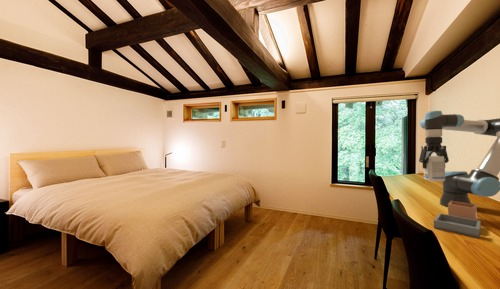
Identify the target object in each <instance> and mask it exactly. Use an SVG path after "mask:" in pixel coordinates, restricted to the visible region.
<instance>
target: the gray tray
mask: <svg viewBox="0 0 500 289" xmlns="http://www.w3.org/2000/svg"><path fill="white" fill-rule="evenodd" d="M481 223H482V222H481V220H478V219H477V220H474V219H468V218H463V217H457V216H452V215H448V214H446V213H440V212H438V213H437V215H436V216H435V218H434V219H433V229H436V230H441V231H445V232H449V233H455V234H458V233H459V235H462V234H464V235H463V236H466V237H472V238H475V239H480V235H481V234H480V233H481V226H482V224H481Z"/></svg>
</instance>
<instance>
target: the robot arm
mask: <svg viewBox="0 0 500 289" xmlns="http://www.w3.org/2000/svg"><path fill="white" fill-rule="evenodd" d="M420 127H421V128H422V129H424V130H425V138H424V139H425V141H424V142H425V144H426V145H421V151H420V156H419V159H418V161H419V163H421V164H422V171H423V175H424V174H429V163H427V162H428V160H429V156H432V154H433V153H434V154H435V156H444V160H445V164H448V162H449V155H448V152H447V146H446V145H442V143H443V137H442V136H443V130H446V131H455V132H457V131H458V132H465V133H466V132H468V133H473V134H475V135H483V136H491V137H496V139H495V141H494V142H493V144H492V145H491V147H490V148H489V149H488V151H487V153H486V154H485V156H484V157H483V159H482V160H481V162H480V164H479V165H478V166H477V168H474V169H471V171H470V172H469V173H468V172H467V171H464V170H463V171H462V170H461V171H445V181H442V191H443V192H442V195H441V198H440V200H439V204H440V205H441V206H443V205H444V207H447V208H448V203H449V202H450V201H457V202H464V203H471V204H472V202H471V199H470V197H469V194H471V195H475V196H478V197H485V198H489V197H493V196H494V197H495V195H498V194H499V193H500V178H499V176H498V175H499V173H500V117H499V118H491V119H477V120H471V119H465V118H464V116H463V115H461V114H457V113H454V114H450V113H449V114H443V112H442V110H432V111H431V110H430V111H426V112H425V115H424V118H423V119H421V121H420Z"/></svg>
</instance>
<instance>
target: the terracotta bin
mask: <svg viewBox="0 0 500 289" xmlns="http://www.w3.org/2000/svg"><path fill="white" fill-rule="evenodd" d="M477 206H478V205H477V204H475V203H472V202H471V203H464V202H457V201H450V202H449V203H448V207H447V212H448V213H447V215H452V216H457V217H463V218H468V219H474V220H478V211H477V210H478V207H477Z"/></svg>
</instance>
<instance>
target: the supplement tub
mask: <svg viewBox="0 0 500 289" xmlns="http://www.w3.org/2000/svg"><path fill="white" fill-rule="evenodd" d="M445 160H446V159H445ZM445 160H444V156H437V155H431V156H429V160H428V162H427V163H429V174H423V179H424V180H426V181H429V182H443V181H445V172H446V163H445Z"/></svg>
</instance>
